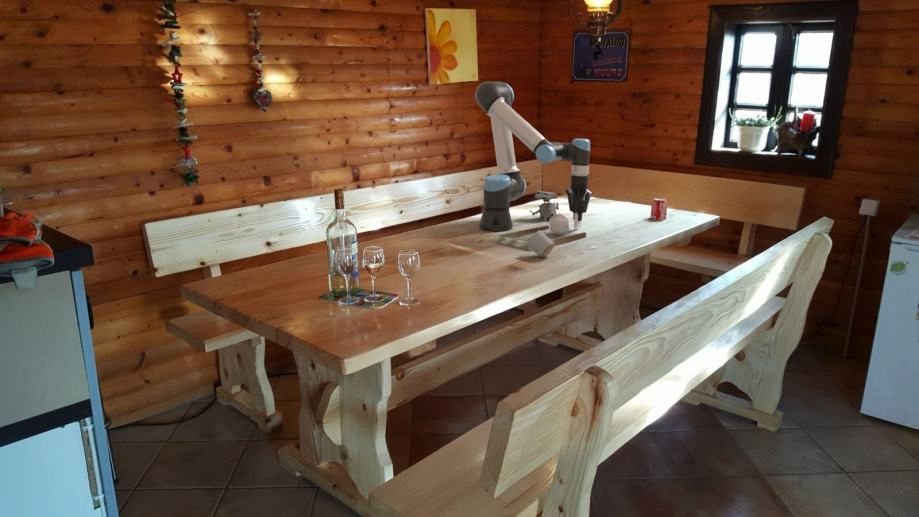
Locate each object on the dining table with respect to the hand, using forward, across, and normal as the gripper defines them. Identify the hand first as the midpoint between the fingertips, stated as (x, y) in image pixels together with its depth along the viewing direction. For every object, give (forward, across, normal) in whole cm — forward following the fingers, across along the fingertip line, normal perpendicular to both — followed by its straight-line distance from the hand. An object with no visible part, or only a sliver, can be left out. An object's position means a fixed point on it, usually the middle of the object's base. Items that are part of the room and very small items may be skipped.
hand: (577, 227), depth 299 cm
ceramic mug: (+2, +19, -46) cm, 50 cm away
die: (+2, 0, -13) cm, 13 cm away
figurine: (+2, -24, +6) cm, 24 cm away
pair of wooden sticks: (+2, 0, -23) cm, 23 cm away
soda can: (+2, +14, +44) cm, 46 cm away
